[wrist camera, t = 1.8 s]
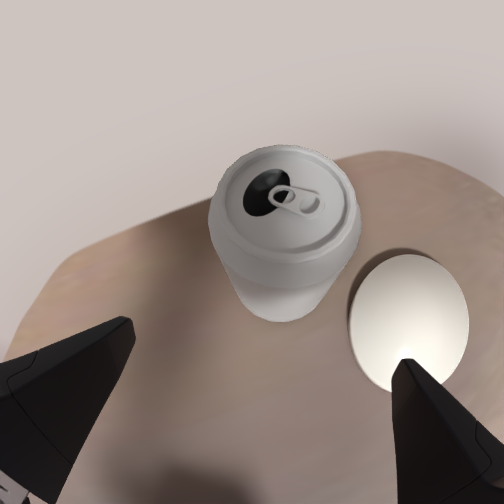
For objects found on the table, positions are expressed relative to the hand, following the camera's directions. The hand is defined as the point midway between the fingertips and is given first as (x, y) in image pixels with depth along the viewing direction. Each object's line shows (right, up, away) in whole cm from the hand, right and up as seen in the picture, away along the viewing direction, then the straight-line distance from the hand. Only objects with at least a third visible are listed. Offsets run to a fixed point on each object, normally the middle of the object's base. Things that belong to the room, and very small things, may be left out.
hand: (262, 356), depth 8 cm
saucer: (+13, -3, +12) cm, 18 cm away
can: (+2, +1, +15) cm, 15 cm away
